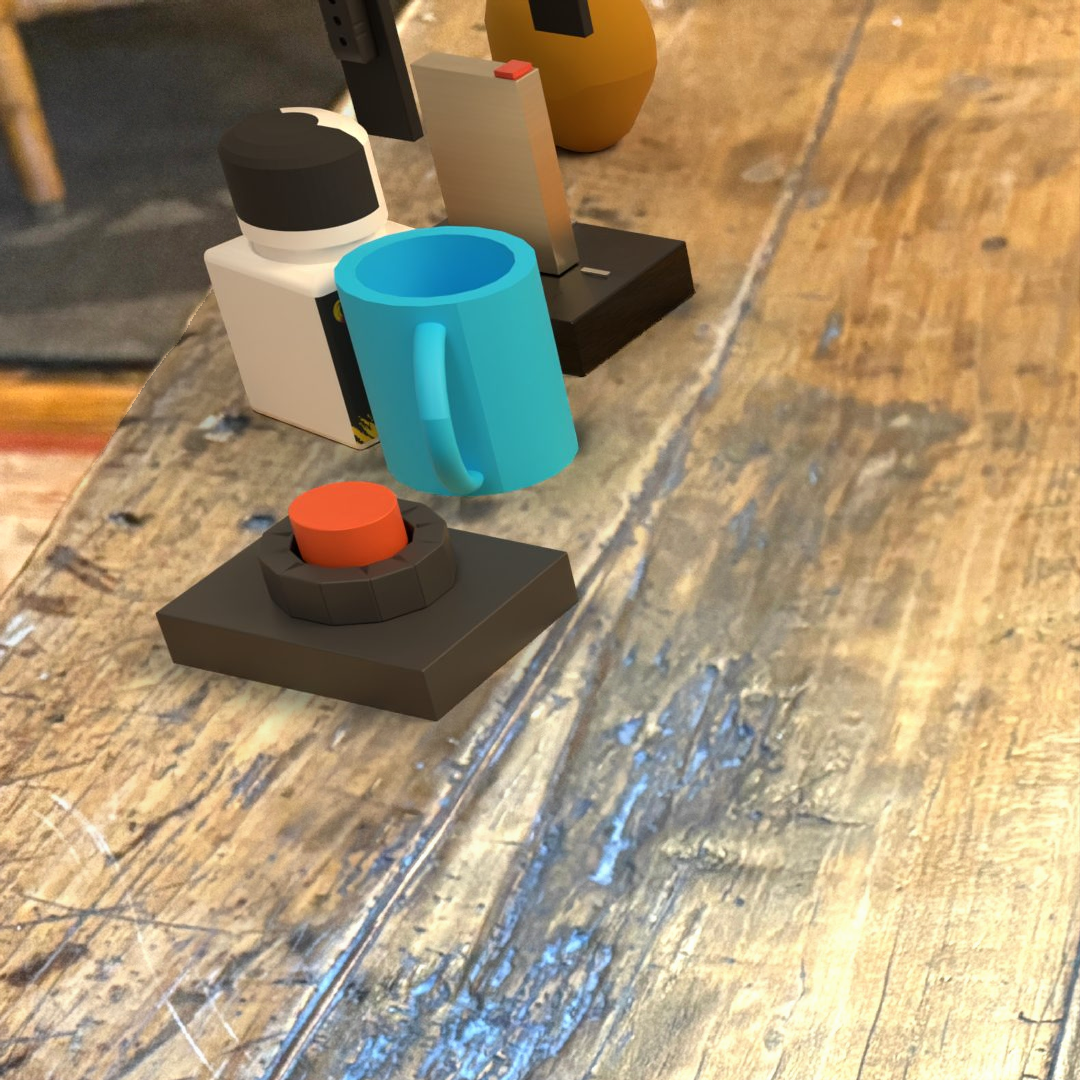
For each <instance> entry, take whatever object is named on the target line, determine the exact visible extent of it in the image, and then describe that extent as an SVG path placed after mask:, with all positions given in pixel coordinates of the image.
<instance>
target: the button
mask: <svg viewBox="0 0 1080 1080" xmlns="http://www.w3.org/2000/svg"><path fill="white" fill-rule="evenodd" d="M287 514H288V515H289V518H290V522H291V525H292V528H293V531H294V534H295V538H296V541H297V544H298V547H299V550H300V553H301V556H302V558H303V560H304V561H305V562H306V563H308V564H312V565H317V566H322V567H326V568H342V567H356V566H365V565H368V564H371V563H375V562H378V561H381V560H384V559H387V558H390V557H393V556H394V555H395V554H397V553H398V552H399V551H401V550H402V549H403V548H404V547H406V546H407V545H408V537H407V534H406V530H405V526H404V523H403V519H402V516H401V512H400V509H399V505H398V502H397V496H396V494H395V492H393V491H392V490H391V488H390V489H389V488H388V487H386V486H384V485H383V484H379V483H375V482H369V481H361V480H360V481H357V480H356V481H355V480H350V481H348V480H347V481H338V482H332V483H327V484H324V485H320V486H316V487H314V488H311V489H309V490H307V491H305V492H303V493H302V494H300V495H298V496H297V497H296V498H294V499H293V501H292V502H291V503H290V504H289V506H288V510H287ZM288 515H287V516H288Z"/></svg>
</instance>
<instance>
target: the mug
mask: <svg viewBox="0 0 1080 1080" xmlns="http://www.w3.org/2000/svg"><path fill="white" fill-rule="evenodd" d="M334 277H335V284H336V288H337V291H338V295H339V298H340V302H341V305H342V309H343V312H344V316H345V319H346V323H347V327H348V330H349V334H350V337H351V341H352V344H353V348H354V351H355V355H356V358H357V362H358V365H359V369H360V373H361V376H362V380H363V383H364V387H365V390H366V394H367V397H368V401H369V404H370V408H371V411H372V415H373V419H374V422H375V426H376V429H377V433H378V436H379V440H380V442H379V444H380V446H381V450H382V454H383V457H384V461H385V464H386V468H387V471H388V473H390V474H391V475H392V477H393V478H394V479H395V480H396V481H397V482H398V483H400V484H402V485H404V486H407V487H408V488H411V489H413V490H414V491H417V492H422V493H426V494H431V495H432V494H433V495H435V496H436V495H437V496H443V497H467V498H469V497H470V498H474V497H483V496H492V495H501V494H506V493H510V492H514V491H519V490H522V489H525V488H530V487H533V486H535V485H537V484H540V483H541V482H544V481H546V480H549V479H551V478H553V477H556V476H557V475H558V474H559V473H561V472H562V471H563V470H564V469H566V468H567V467H568V466H569V465H571V464H572V463H573V461H574V459H575V457H576V455H577V453H578V451H579V450H580V449H579V447H580V446H579V442H578V437H577V433H576V429H575V424H574V423H575V422H574V419H573V415H572V411H571V406H570V401H569V396H568V393H567V389H566V383H565V379H564V375H563V372H562V370H561V366H560V361H559V357H558V353H557V348H556V344H555V339H554V335H553V330H552V326H551V322H550V317H549V313H548V308H547V304H546V300H545V295H544V291H543V286H542V282H541V277H540V273H539V269H538V264H537V260H536V255H535V251H534V249H533V248H532V247H531V246H530V245H528V244H527V243H526V242H525V241H524V240H523V239H521V238H518V237H516V236H513V235H511V234H508V233H505V232H503V231H497V230H492V229H486V228H480V227H461V226H443V227H433V226H431V227H423V228H421V227H420V228H414V229H413V230H409V231H404V232H400V233H395V234H391V235H386V236H383V237H381V238H378V239H375V240H373V241H370V242H367V243H365V244H362V245H360V246H359V247H357V248H356V249H354V250H352V251H351V252H349V253H348V254H346V255H345V256H343V257H342V259H341V260H340V261H339V263H338V264H337V266H336V267H335V268H334Z"/></svg>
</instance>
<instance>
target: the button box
mask: <svg viewBox="0 0 1080 1080" xmlns="http://www.w3.org/2000/svg"><path fill="white" fill-rule="evenodd" d="M396 498H397V497H396ZM397 502H398V505H399V509H400V512H401V516H402V519H403V523H404V526H405V530H406V534H407V537H408V545H407V546H406V547H404V548H403V549H402V550H401V551H399V552H398V553H397V554H395V555H394V556H393V557H390V558H387V559H384V560H381V561H378V562H375V563H371V564H368V565H365V566H356V567H342V568H326V567H322V566H317V565H312V564H308V563H306V562H305V561H304V560H303V558H302V556H301V553H300V550H299V547H298V544H297V541H296V538H295V534H294V531H293V528H292V525H291V522H290V518H289V515H286V516H284V517H283V518H282V519H280V520H278V522H276V523H274V525H272V526H271V527H269V528H268V529H266V530H265V531H263V533H262V534H261V536H260V537H259V538H258V539H256V540H255V541H253V542H252V543H251V544H249V545H248V546H245V548H244V549H242V550H240V552H238V553H237V554H235V555H234V556H233V557H231V558H230V559H228V560H227V561H225V562H224V563H223V564H221V565H220V566H219V567H217V568H216V569H214V570H213V571H211V572H210V573H209V574H207V575H206V576H204V577H203V578H201V580H199V581H197V582H196V583H195V584H193V585H192V586H190V587H189V588H188V589H186V590H185V591H184V592H182V593H180V594H179V595H177V597H175V598H174V599H172V600H171V601H170V602H168V603H167V604H166V605H164V606H162V607H161V608H160V609H158V610H157V611H156V612H155V617H156V619H157V623H158V626H159V627H160V630H161V633H162V636H163V639H164V641H165V644H166V647H167V649H168V652H169V656H170V659H171V661H172V663H173V664H175V665H176V664H177V665H179V666H180V665H181V666H184V667H190V668H194V669H199V670H203V671H206V672H212V673H216V674H221V675H225V676H230V677H234V678H238V679H243V680H247V681H252V682H256V683H261V684H265V685H270V686H275V687H278V688H279V687H280V688H283V689H289V690H292V691H297V692H301V693H306V694H310V695H314V696H315V695H316V696H319V697H324V698H328V699H333V700H336V701H337V700H338V701H341V702H347V703H350V704H351V703H352V704H355V705H360V706H364V707H368V708H373V709H378V710H383V711H386V712H391V713H396V714H400V715H404V716H405V715H406V716H410V717H414V718H418V719H423V720H426V721H432V722H439V721H440V720H441V719H442V718H443V717H445V716H446V715H447V714H448V713H449V712H451V710H453V709H454V708H455V707H457V705H458V704H460V703H461V702H462V701H463V700H465V699H466V698H467V697H468V696H469V695H471V694H472V692H474V691H475V690H476V689H478V688H479V687H480V686H481V685H482V684H483V683H485V681H487V680H488V679H489V678H491V677H492V676H493V675H494V674H495V673H496V672H498V671H499V670H500V669H501V668H502V667H503V666H504V665H506V664H507V663H508V662H509V661H510V660H511V659H513V658H514V657H515V656H516V655H517V654H519V653H520V652H521V651H522V650H523V649H524V648H526V647H527V646H528V645H529V644H531V642H533V641H534V640H535V639H536V638H538V637H539V636H540V635H541V634H542V633H543V632H545V631H546V630H547V629H548V628H549V627H551V626H552V625H553V624H554V623H555V622H556V621H557V620H559V619H560V618H561V617H562V616H563V615H565V613H567V612H568V611H569V610H570V609H572V608H573V607H574V606H575V605H576V604H577V603H579V596H578V591H577V587H576V583H575V578H574V575H573V571H572V566H571V562H570V557H569V553H568V551H565V550H559V549H555V548H551V547H545V546H540V545H536V544H530V543H525V542H521V541H517V540H511V539H506V538H501V537H496V536H491V535H487V534H481V533H478V532H477V533H476V532H472V531H467V530H462V529H457V528H452V527H448V524H447V521H446V520H445V519H444V518H443V517H441V516H440V515H439V514H438V513H436V512H435V511H434V510H433V509H431V508H430V506H428V505H427V504H425V503H423V502H419V501H413V500H407V499H403V498H399V497H398V498H397Z"/></svg>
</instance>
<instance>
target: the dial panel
mask: <svg viewBox="0 0 1080 1080" xmlns="http://www.w3.org/2000/svg"><path fill="white" fill-rule="evenodd" d="M570 219H571V224H572V229H573V233H574V238H575V243H576V247H577V252H578V257H579V262H577V263H576V264H574V265H573V266H571V267H570V268H569V269H567V270H566V271H564V272H563V273H561V274H560V275H554V274H549V273H543V272H539V273H540V277H541V282H542V286H543V291H544V295H545V300H546V304H547V308H548V313H549V317H550V322H551V326H552V330H553V335H554V339H555V344H556V348H557V353H558V357H559V361H560V366H561V370H562V373H564V374H570V375H575V376H581V377H585V376H586V375H587V374H589V373H590V372H592V371H593V370H594V369H595V368H597V367H598V366H599V365H601V364H602V363H604V362H605V361H606V360H608V359H609V358H610V357H611V356H613V355H614V354H615V353H617V352H618V351H619V350H621V349H622V348H623V347H625V346H626V345H627V344H629V343H631V341H633V340H634V339H636V338H637V337H638V336H640V335H641V334H642V333H644V332H645V331H647V330H648V329H649V328H650V327H652V326H653V325H655V323H657V322H659V320H661V319H662V318H664V317H665V316H666V315H668V314H669V313H670V312H671V311H673V310H674V309H676V308H677V307H678V306H680V305H681V304H683V303H684V302H685V301H687V300H688V299H689V298H690V297H691V296H693V295H695V292H696V290H695V285H694V284H695V283H694V278H693V273H692V268H691V263H690V258H689V252H688V247H687V242H686V241H685V240H682V239H677V238H669V237H663V236H659V235H653V234H647V233H646V234H645V233H641V232H640V233H639V232H636V231H629V230H624V229H617V228H613V227H608V226H607V227H606V226H600V225H595V224H590V223H584V222H579V220H578V219H575V218H570ZM443 226H450V225H449V221H448V217H446V218H444V219H443V220H441V221H440V222H438V223H437V224H435V225H433V226H432V227H443Z"/></svg>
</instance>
